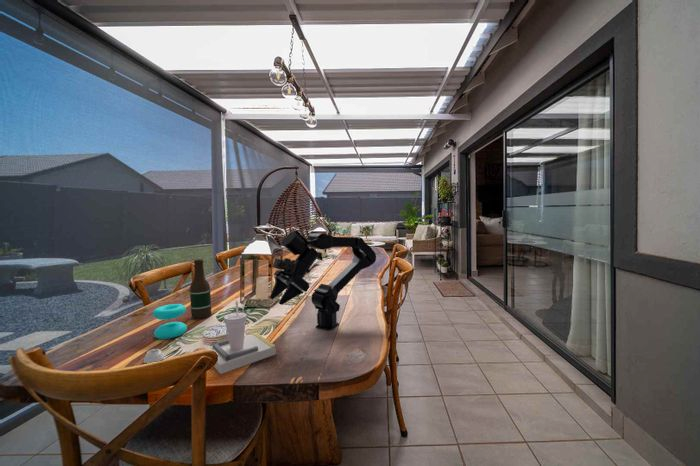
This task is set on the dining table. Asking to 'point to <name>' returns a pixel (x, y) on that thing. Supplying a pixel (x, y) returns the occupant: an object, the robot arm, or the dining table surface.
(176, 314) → the donuts
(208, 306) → the beer bottle
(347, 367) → the dining table surface
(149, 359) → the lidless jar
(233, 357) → the dock
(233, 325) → the smoothie
